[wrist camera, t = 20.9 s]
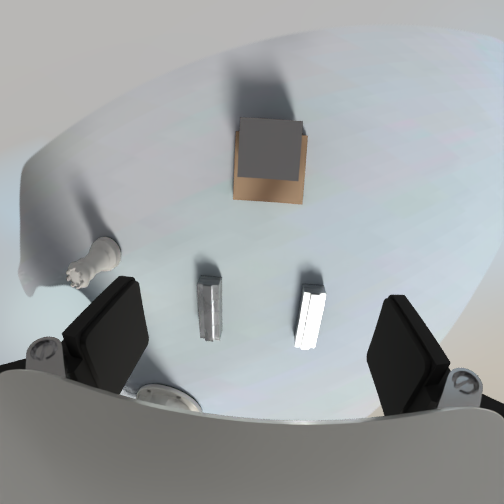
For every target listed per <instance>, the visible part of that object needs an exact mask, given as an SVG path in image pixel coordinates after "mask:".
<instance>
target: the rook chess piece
mask: <svg viewBox="0 0 504 504" xmlns="http://www.w3.org/2000/svg"><path fill="white" fill-rule="evenodd" d="M120 261H121V252H120V248H119V246H118V245H117V243H116V242H115V241H113V240H112V239H111V238H108V237H100V238H98V239H97V240H96V241H95V242H94V243H93V244H92V245H91V248H90V251H89V253H88V255H87V256H86V257H85V258H81V259H79V260H78V262H72V263H70V264H69V267H68V270H67V271H66V274H67V275H68V276H67V277H66V279H67V281H69V280H70V281H71V282H72V283H71V284H70V285H71V286H72V287H74V286H76V289H80V288H86V287H87V286H88V285H89V282H90V280H92V279H93V278H94V276H95V274H97V273H99V272H102V271H111V270H112V269H114V268H115V267H117V266H118V265H119V263H120Z"/></svg>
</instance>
